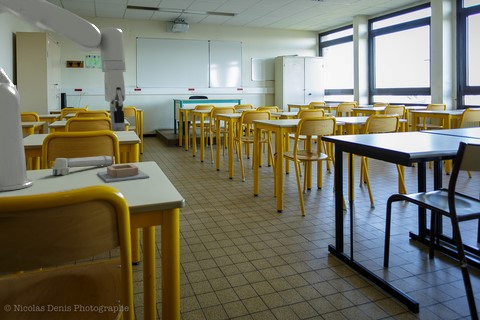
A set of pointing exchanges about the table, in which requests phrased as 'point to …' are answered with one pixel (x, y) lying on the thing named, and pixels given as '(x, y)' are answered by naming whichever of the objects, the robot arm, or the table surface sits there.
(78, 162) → the white long slender part
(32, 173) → the table surface
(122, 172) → the socket block
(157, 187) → the table surface
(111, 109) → the grey and brass cylinder
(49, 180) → the table surface
